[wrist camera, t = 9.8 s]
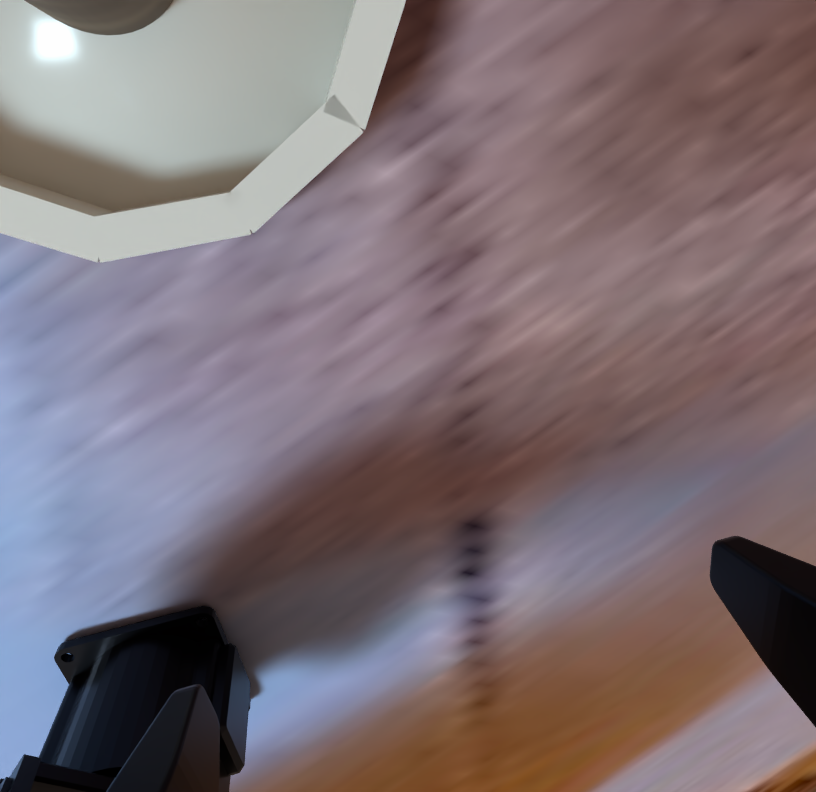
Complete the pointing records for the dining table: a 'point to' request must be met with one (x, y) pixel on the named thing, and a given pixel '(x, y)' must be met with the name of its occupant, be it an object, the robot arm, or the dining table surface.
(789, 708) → the dining table surface
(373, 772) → the dining table surface
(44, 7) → the pepper mill
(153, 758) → the robot arm
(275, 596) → the dining table surface
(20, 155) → the dish
